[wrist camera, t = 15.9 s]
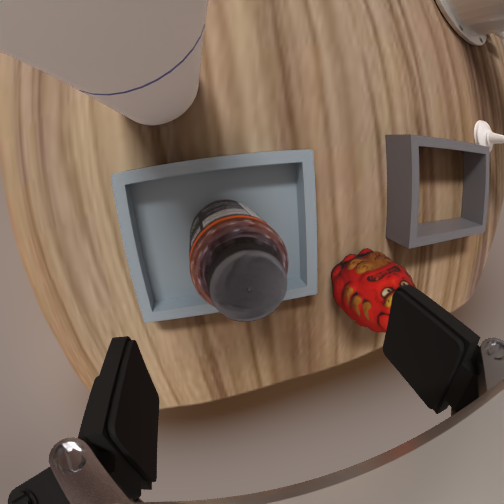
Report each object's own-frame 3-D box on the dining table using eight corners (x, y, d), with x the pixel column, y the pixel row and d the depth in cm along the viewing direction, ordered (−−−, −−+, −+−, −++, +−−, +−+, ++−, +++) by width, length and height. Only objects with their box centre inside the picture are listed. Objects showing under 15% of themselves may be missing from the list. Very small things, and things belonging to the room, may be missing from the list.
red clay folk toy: (381, 236, 29) (488, 295, 15) (386, 289, 31) (473, 360, 17) (319, 261, 28) (415, 349, 14) (331, 316, 31) (407, 409, 17)
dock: (466, 144, 27) (489, 146, 24) (464, 224, 31) (485, 232, 27) (385, 134, 25) (410, 134, 21) (385, 237, 29) (408, 248, 25)
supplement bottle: (258, 262, 26) (301, 333, 16) (191, 266, 25) (193, 344, 15) (259, 196, 24) (311, 229, 14) (188, 198, 23) (184, 234, 13)
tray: (301, 149, 24) (313, 149, 22) (307, 282, 29) (317, 293, 26) (118, 172, 22) (110, 174, 19) (147, 308, 26) (144, 322, 24)
